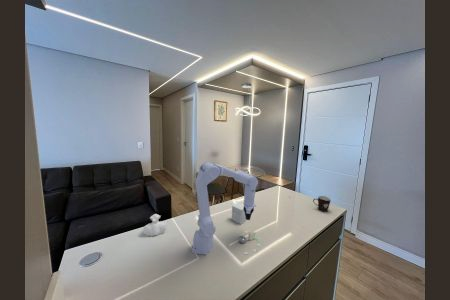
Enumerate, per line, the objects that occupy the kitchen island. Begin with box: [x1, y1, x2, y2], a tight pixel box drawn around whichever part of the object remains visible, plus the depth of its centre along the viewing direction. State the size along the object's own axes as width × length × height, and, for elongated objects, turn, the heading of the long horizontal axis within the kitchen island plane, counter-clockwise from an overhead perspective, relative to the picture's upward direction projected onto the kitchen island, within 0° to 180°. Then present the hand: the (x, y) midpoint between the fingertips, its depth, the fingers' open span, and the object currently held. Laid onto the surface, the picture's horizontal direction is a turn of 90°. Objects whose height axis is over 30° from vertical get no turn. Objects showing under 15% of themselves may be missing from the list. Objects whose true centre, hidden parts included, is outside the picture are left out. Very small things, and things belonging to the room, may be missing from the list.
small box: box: [231, 203, 247, 225], centre depth 109 cm, size 8×6×10 cm
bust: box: [143, 213, 168, 237], centre depth 95 cm, size 12×8×11 cm
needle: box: [238, 230, 256, 245], centre depth 91 cm, size 9×4×4 cm, turn 116°
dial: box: [243, 230, 261, 255], centre depth 90 cm, size 18×18×1 cm
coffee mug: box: [312, 195, 332, 213], centre depth 131 cm, size 12×9×10 cm
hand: (247, 219), depth 94 cm, fingers closed
